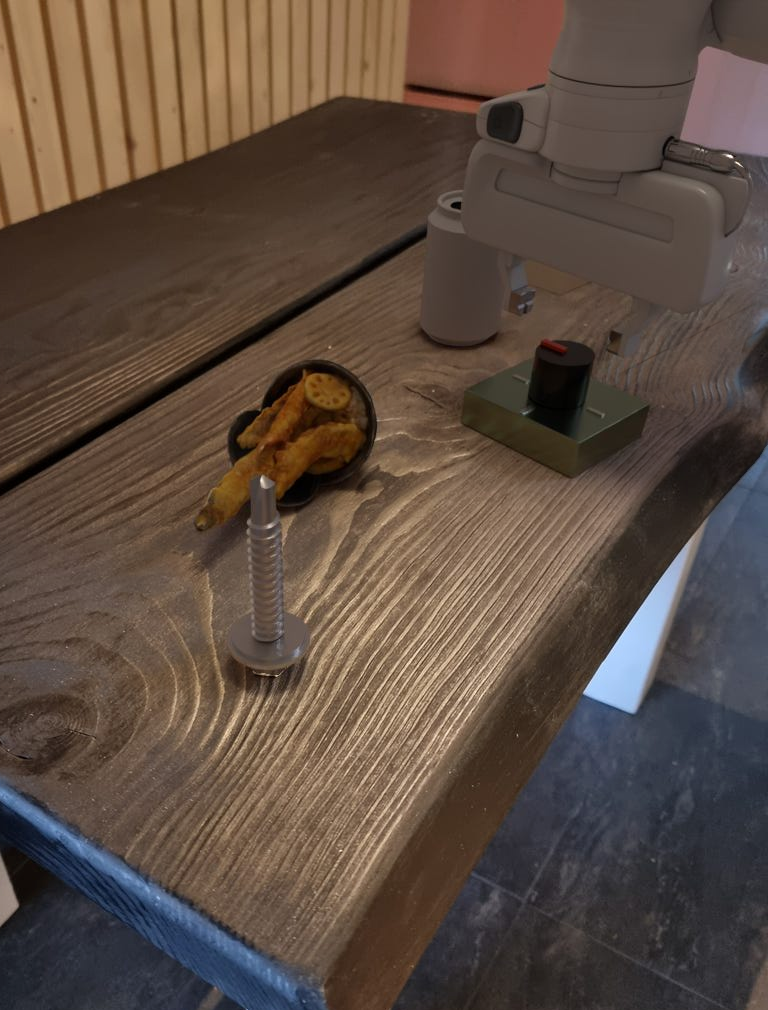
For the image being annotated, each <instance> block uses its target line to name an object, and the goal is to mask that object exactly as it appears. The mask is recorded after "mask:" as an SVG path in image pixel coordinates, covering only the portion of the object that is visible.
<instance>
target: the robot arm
mask: <svg viewBox="0 0 768 1010" xmlns="http://www.w3.org/2000/svg"><path fill="white" fill-rule="evenodd" d="M562 14H563V15H562V16H563V17H562V23H561V28H560V32H559V36H558V38H557V40H556V44H555V46H554V48H553V50H552V53H551V56H550V60H549V64H548V69H547V74H546V75H547V76H546V82H545V83H541V84H537V85H534V86H531V87H527V89H526V90H520V91H517V92H512V93H509V94H505V95H501V96H499V97H495V98H492V99H489V100H486V101H484V102H482V103H481V104H480V105H479V107H478V109H477V112H476V120H475V121H476V122H475V129H476V132H477V134H478V136H479V137H481V138H482V139H480V140H478V141H477V142H476V144H475V145H474V146H473V148H472V150H471V152H470V155H469V157H468V158H469V159H468V162H467V167H466V171H465V177H464V183H463V189H462V190H463V196H462V204H461V223H462V226H463V229H464V231H465V234H466V236H467V237H468V238H469V239H472V240H474V241H477V242H480V243H483V244H486V245H489V246H492V247H494V248H497V249H499V251H498V258H497V265H498V268H499V271H500V275H501V278H502V281H503V284H504V288H505V295H504V301H503V308H502V310H503V311H504V312H507V313H509V314H513V315H515V316H518V317H522V316H523V317H524V315H527V314H529V313H531V310H533V307H534V301H533V300H534V299H535V297H536V290H537V288H534V287H532V286H530V285H529V284H528V283H527V279H526V273H525V268H524V263H523V262H525V261H527V260H531V261H534V262H537V263H540V264H542V265H545V266H548V267H551V268H554V269H557V270H559V271H562V272H565V273H568V274H571V275H573V276H576V277H579V278H582V279H585V280H588V281H590V282H589V283H593V284H596V285H599V286H602V287H605V288H608V289H609V290H614V291H616V292H619V293H622V294H624V295H628V296H630V297H633V298H632V301H631V305H630V311H631V312H632V313H634V314H636V315H635V316H634V317H633V319H632V320H631V321H630V322H629V323H628V322H624V323H622V324H620V325H619V326H616V327H614V328H612V329H610V332H609V333H610V334H609V336H608V340H609V343H607V344H606V352H607V353H610V354H613V355H615V356H617V357H619V358H622V359H625V360H626V359H628V358H630V357H632V356H634V355H635V354H636V353H637V351H638V350H639V346H640V344H641V340H642V337H643V332H644V331H646V330H647V328H648V327H650V325H651V324H652V323H653V322H654V321H655V320H656V319H657V318H659V316H660V315H661V314H662V313H663V312H664V311H665V310H666V309H667V310H669V311H673V312H675V313H678V314H681V315H689V314H692V313H694V312H697V311H699V310H701V309H704V308H705V307H707V306H709V305H711V304H712V303H714V302H715V301H717V300H719V298H720V297H722V295H724V293H725V292H726V290H727V287H728V284H729V281H730V277H731V273H732V269H733V265H734V261H735V258H736V257H735V256H736V251H737V246H738V240H739V234H740V226H741V225H742V223H743V221H744V219H745V218H746V216H747V212H748V209H749V206H750V202H751V199H752V196H753V193H754V185H755V184H754V180H753V178H752V175H751V173H750V171H749V170H748V167H746V166H745V165H744V164H743V163H741V162H740V156H739V155H738V154H736V153H735V152H732V151H730V150H726V149H713V148H708V147H705V146H703V145H701V144H698V143H696V142H692V141H687V140H683V139H681V138H682V132H683V129H684V126H685V122H686V117H687V113H688V109H689V105H690V101H691V97H692V95H693V94H692V93H693V89H694V86H695V81H696V78H697V74H698V69H699V56H700V54H701V52H702V51H703V50H704V49H705V48H707V47H709V48H713V49H716V50H720V51H723V52H726V53H730V54H731V55H733V56H735V57H737V58H740V59H745V60H748V61H753V62H755V63H759V64H763V65H766V66H768V0H563V13H562ZM735 171H737V173H734V172H735ZM738 173H739V174H738Z"/></svg>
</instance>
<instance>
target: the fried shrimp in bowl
mask: <svg viewBox="0 0 768 1010" xmlns="http://www.w3.org/2000/svg"><path fill="white" fill-rule="evenodd" d="M377 433H378V419H377V413H376V409H375V406H374V401H373V398H372V395H371V394H370V392H369V390H368V389H367V387H366V386H365V385H364V383H363V382H362V381H361V380H360V379H359V378H358V376H357V375H356V374H355V373H353V372H352V371H350V370H349V369H347V368H346V367H344V366H343V365H341V364H338V363H336V362H334V361H330V360H327V359H321V358H320V359H306V360H302V361H299V362H296V363H294V364H292V365H290V366H288V367H286V368H285V369H284V370H283V371H281V372H280V373H279V374H278V375H276V376H275V378H274V379H273V381H272V382H271V383H270V385H269V386H268V388H267V390H266V391H265V393H264V395H263V398H262V401H261V406H260V410H259V409H252V410H244V411H243V412H242V413H239V414H238V415H237V416H236V417H235V418H234V420H233V421H232V422H231V424H230V426H229V430H228V433H227V437H226V448H227V449H226V451H227V454H228V456H229V460H230V463H231V466H232V469H231V470H230V471H228V472H226V474H225V475H224V476H223V477H222V478H221V479H220V480H219V481H218V482H217V484H216V485H215V486H214V487H213V488H211V490H210V491H209V493H208V495H207V498H206V500H205V501H204V502H205V503H204V504H203V505H202V507H201V508H200V509H199V511H198V513H197V514H196V515H195V518H194V519H193V525H194V527H195V531H196V533H197V534H198V535H199V536H204V535H205V534H207V533H208V532H209V531H212V530H214V529H215V528H216V527H220V526H222V525H224V524H225V523H226V522H227V520H228V519H229V518H230V517H233V516H235V515H237V514H238V512H239V510H240V509H241V507H243V505H244V504H245V503H246V502H247V501H249V500H251V497H250V479H251V478H253V477H254V476H257V475H262V474H263V475H265V477H267V478H268V479H270V480H272V481H273V482H275V491H276V506H280V507H283V508H298V507H302V506H304V505H306V504H307V503H309V502H310V501H311V500H312V499H313V498H314V497H315V496H316V493H317V492H318V490H319V488H320V486H328V485H329V486H330V485H334V484H338V483H341V482H343V481H345V480H346V479H349V478H351V477H352V476H353V475H354V474H355V473H356V472H357V471H358V470H360V469H361V467H362V466H363V465H364V464H365V463H366V462H367V460H368V459H369V457H370V456H371V453H372V451H373V447H374V445H375V442H376V438H377Z"/></svg>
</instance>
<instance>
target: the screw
mask: <svg viewBox="0 0 768 1010" xmlns="http://www.w3.org/2000/svg"><path fill="white" fill-rule="evenodd" d="M250 497H251V498H250V517H248V519H247V521H246V524H247V525H248V528H247V529H246V531H245V532H246V535H247V536H248V537H247V539H246V544H247V545H248V547H247V554H249V555H248V556H247V561H248V563H249V564H248V566H247V567H248V571H249V574H248V578H249V580H250V582H249V583H248V584H249V585H248V586H249V588H250V590H249V595H250V597H251V598H250V600H249V602H250V605H251V606H250V612H248V613H245V614H243V615H241V616H240V617H239V618H237V619H235V621H234V622H233V623H232V624H230V626H229V628H228V630H227V633H226V636H225V637H226V648H227V650H228V653H229V654H230V655H231V657H232V658H233V659H234V660H236V661H237V662H238V663H239V664H241V665H243V666H245V667H248V668H250V667H251V668H252V670H253V671H254V672H256V673H266V674H270V675H279V674H280V673H281V672H282V671H283V670H285V668H287V666H289V665H291V666H293V665H294V664H296V663H297V662H299V661H300V660H301V659H302V658H304V657H305V655H306V654H307V652H308V651H309V649H310V646H311V631H310V629H309V628H310V627H308V625H307V623H306V622H305V621H304V620H303V619H302V618H300V617H299V616H297V615H296V614H294V613H292V612H289V611H286V610H285V609H284V607H285V602H284V597H285V596H284V595H285V594H284V589H285V588H284V576H283V575H284V568H283V565H284V560H283V556H284V553H283V541H282V540H283V533H282V528H283V524H282V523H281V521H280V520H281V514H280V512H279V510H277V505H276V491H275V482H273V481H272V480H270V479H268V478H267V477H265V475H263V474H262V475H257V476H254V477H253V478H251V479H250ZM292 664H293V665H292ZM251 668H250V669H251ZM252 670H251V671H252Z"/></svg>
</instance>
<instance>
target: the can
mask: <svg viewBox="0 0 768 1010" xmlns="http://www.w3.org/2000/svg"><path fill="white" fill-rule="evenodd" d="M462 196H463V189H457V190H451V191H447V192H444V193H442V194H441V195H440V196H439V197H438V198H437V199H436V204H437V207H436V208H435V209H433V210H432V212H431V213H430V214H429V215H428V217H427V228H426V229H427V230H426V238H425V240H426V242H425V250H424V251H425V253H424V262H423V263H424V265H423V273H422V274H423V275H422V287H421V299H420V310H419V326H420V328H421V329H422V330H423V331H424V332H425V333H426V335H427V336H429V338H430V339H431V340H433V341H435V342H437V343H440V344H443V345H447V346H453V347H469V346H471V347H472V346H475V345H478V344H481V343H484V342H485V341H487V340H489V338H490V337H492V336H494V335H495V334H496V333H497V332H498V331H499V329H500V328H501V321H502V316H503V315H502V314H503V306H504V299H505V292H506V289H505V288H504V284H503V281H502V278H501V275H500V271H499V268H498V265H497V258H498V251H499V249H497V248H494V247H492V246H489V245H486V244H483V243H480V242H477V241H474V240H472V239H469V238H468V237H467V236H466V234H465V231H464V229H463V226H462V223H461V204H462Z"/></svg>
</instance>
